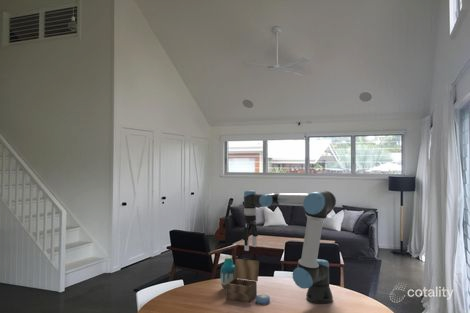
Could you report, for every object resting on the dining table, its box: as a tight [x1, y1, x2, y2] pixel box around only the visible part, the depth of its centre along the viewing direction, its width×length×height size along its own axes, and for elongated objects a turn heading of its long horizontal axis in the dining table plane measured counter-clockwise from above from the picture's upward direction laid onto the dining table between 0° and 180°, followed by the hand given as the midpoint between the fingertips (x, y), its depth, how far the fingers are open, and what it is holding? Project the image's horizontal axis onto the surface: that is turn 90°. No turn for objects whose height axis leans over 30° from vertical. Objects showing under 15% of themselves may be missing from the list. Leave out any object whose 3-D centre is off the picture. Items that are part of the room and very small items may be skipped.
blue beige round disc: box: [255, 294, 271, 305], centre depth 211 cm, size 8×8×3 cm
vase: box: [220, 257, 236, 290], centre depth 234 cm, size 11×11×19 cm
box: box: [225, 279, 258, 303], centre depth 218 cm, size 15×11×9 cm
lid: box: [234, 257, 260, 282], centre depth 224 cm, size 16×13×2 cm
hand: (250, 248), depth 232 cm, fingers open, 12 cm apart
